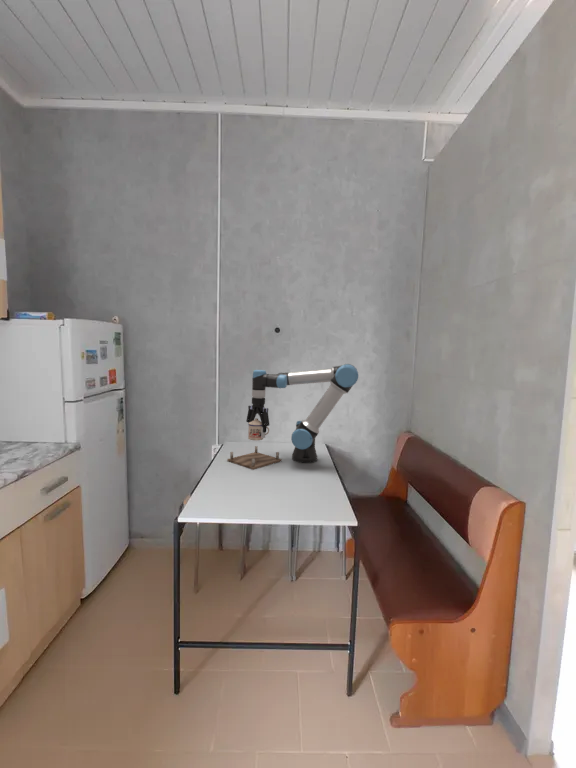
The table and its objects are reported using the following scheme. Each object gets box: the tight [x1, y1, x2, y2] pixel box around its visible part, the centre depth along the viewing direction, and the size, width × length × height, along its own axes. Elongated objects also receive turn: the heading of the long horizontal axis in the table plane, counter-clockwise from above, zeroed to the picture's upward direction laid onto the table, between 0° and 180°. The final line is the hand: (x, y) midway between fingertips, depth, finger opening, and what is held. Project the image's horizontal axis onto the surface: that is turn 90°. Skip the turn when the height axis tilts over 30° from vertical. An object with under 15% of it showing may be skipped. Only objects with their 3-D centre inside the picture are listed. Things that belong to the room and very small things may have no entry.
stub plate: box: [226, 446, 283, 471], centre depth 225 cm, size 21×23×5 cm
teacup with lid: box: [247, 417, 270, 441], centre depth 221 cm, size 12×9×12 cm
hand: (257, 436), depth 222 cm, fingers closed on teacup with lid, 9 cm apart
